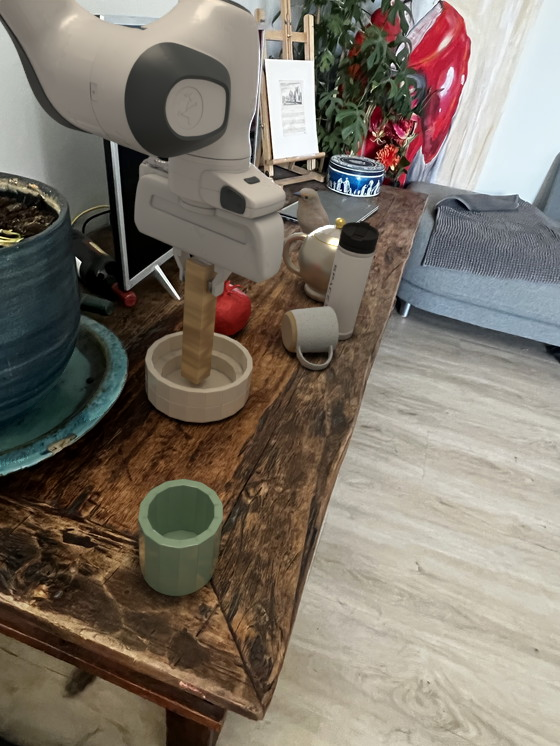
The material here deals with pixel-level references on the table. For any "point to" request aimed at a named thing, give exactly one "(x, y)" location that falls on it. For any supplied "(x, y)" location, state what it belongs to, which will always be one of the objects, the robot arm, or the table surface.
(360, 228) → the travel mug
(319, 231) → the teapot
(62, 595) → the table surface
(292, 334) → the ceramic mug
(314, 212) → the bird
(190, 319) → the long wooden block
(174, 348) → the stepped round dish
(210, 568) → the pot
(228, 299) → the pomegranate
